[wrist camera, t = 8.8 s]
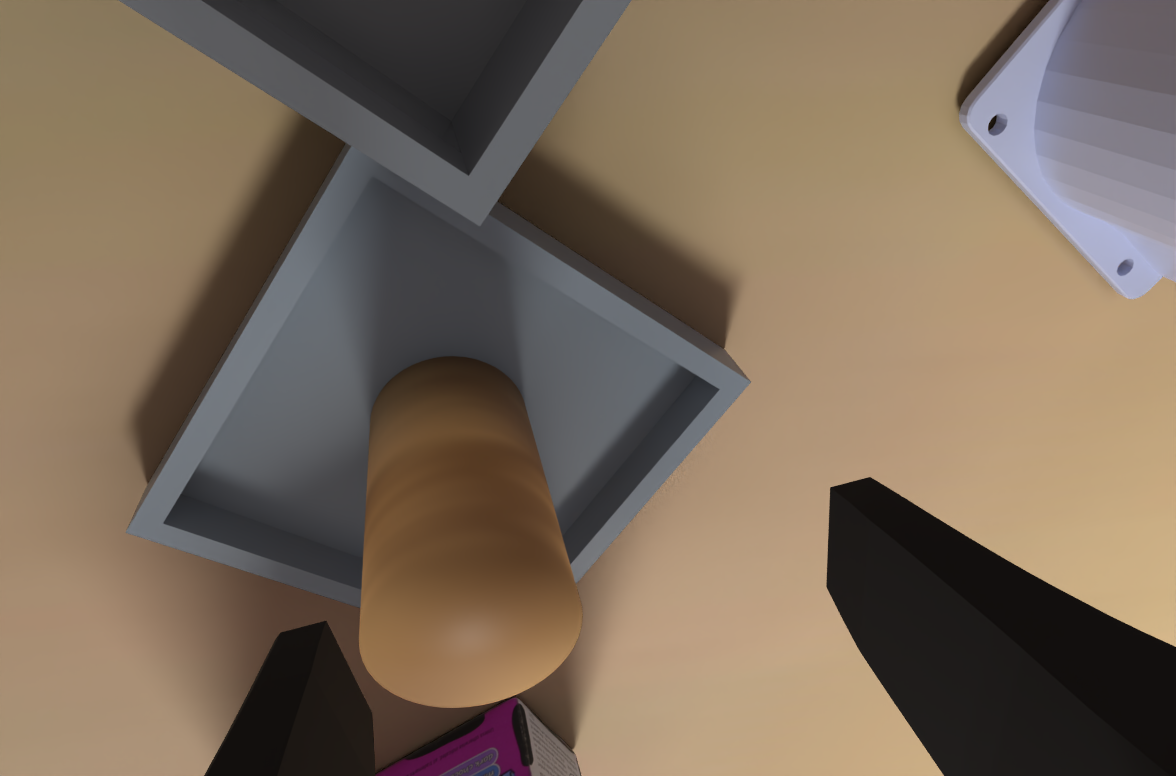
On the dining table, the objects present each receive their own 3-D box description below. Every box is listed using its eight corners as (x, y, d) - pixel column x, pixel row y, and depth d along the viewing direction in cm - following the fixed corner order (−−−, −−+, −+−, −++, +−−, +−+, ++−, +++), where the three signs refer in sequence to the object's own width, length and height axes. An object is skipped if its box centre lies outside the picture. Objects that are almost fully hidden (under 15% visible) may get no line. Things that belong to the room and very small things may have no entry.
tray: (725, 349, 21) (751, 382, 19) (505, 612, 24) (512, 657, 23) (362, 113, 16) (359, 132, 14) (146, 485, 19) (125, 532, 18)
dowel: (556, 401, 20) (624, 595, 14) (471, 507, 21) (502, 727, 15) (424, 328, 18) (439, 516, 12) (340, 448, 19) (315, 674, 13)
